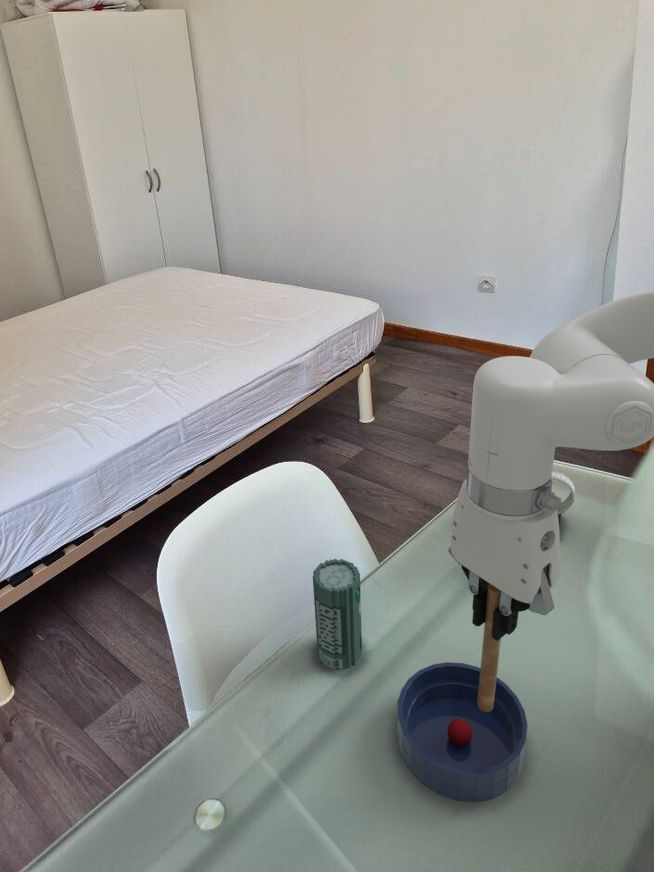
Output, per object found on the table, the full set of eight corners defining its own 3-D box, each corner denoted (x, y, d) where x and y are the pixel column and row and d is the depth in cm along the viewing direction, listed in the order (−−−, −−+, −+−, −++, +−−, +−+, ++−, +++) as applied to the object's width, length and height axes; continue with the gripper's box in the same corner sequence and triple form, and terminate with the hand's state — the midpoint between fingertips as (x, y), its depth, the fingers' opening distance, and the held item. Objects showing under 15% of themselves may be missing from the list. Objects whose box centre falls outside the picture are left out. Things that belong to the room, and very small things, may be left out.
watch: (523, 511, 125) (528, 461, 120) (571, 520, 122) (578, 469, 117) (519, 530, 120) (525, 479, 116) (569, 540, 117) (576, 487, 112)
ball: (476, 741, 85) (478, 725, 84) (461, 756, 84) (462, 740, 82) (457, 724, 87) (458, 708, 86) (441, 739, 86) (442, 722, 85)
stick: (496, 705, 79) (510, 586, 71) (486, 715, 78) (499, 595, 70) (483, 695, 80) (495, 577, 72) (473, 704, 79) (484, 585, 71)
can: (368, 648, 100) (366, 568, 93) (348, 678, 96) (345, 597, 89) (332, 631, 103) (328, 553, 97) (311, 660, 99) (305, 580, 92)
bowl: (549, 750, 84) (553, 719, 82) (468, 832, 76) (471, 802, 74) (451, 671, 95) (452, 643, 93) (372, 737, 87) (371, 707, 85)
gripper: (608, 505, 62) (581, 652, 70) (466, 437, 73) (457, 570, 81) (559, 542, 58) (537, 694, 66) (417, 464, 69) (413, 601, 77)
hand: (493, 624), depth 73 cm, fingers closed on stick, 1 cm apart
